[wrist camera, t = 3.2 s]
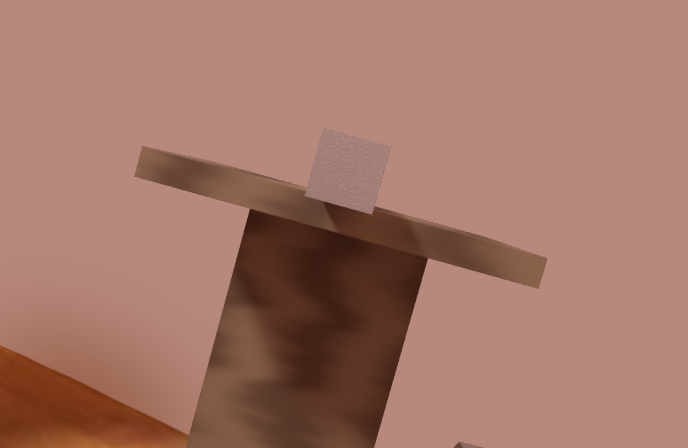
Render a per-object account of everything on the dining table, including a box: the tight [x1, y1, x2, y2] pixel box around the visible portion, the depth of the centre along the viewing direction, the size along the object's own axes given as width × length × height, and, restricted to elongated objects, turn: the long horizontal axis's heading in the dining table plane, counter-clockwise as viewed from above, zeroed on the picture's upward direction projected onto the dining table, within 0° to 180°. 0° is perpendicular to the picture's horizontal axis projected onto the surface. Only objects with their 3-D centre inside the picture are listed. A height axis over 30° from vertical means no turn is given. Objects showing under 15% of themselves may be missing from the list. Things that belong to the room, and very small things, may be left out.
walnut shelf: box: [135, 146, 547, 448], centre depth 38 cm, size 20×15×26 cm
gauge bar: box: [305, 128, 391, 215], centre depth 33 cm, size 2×22×2 cm, turn 178°
